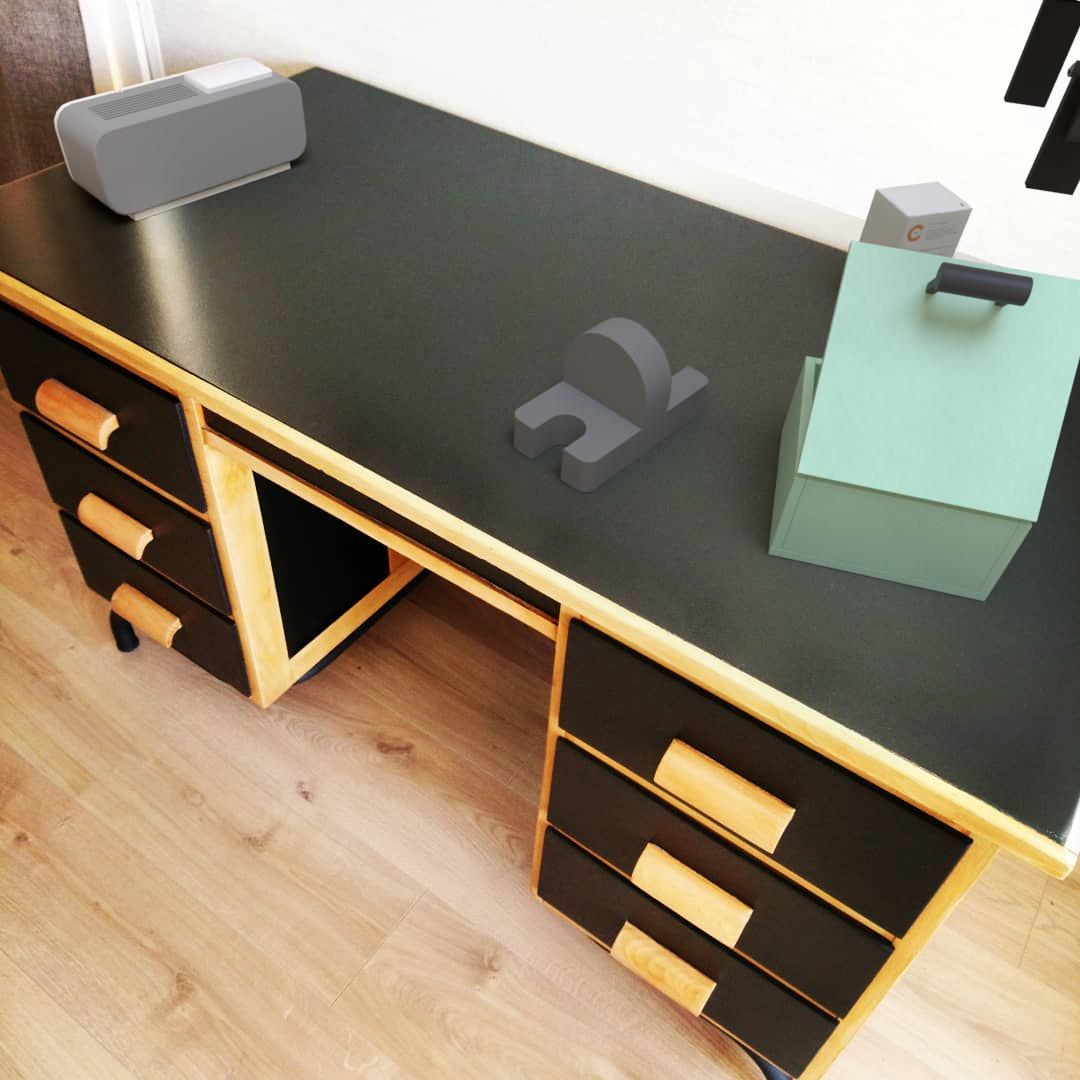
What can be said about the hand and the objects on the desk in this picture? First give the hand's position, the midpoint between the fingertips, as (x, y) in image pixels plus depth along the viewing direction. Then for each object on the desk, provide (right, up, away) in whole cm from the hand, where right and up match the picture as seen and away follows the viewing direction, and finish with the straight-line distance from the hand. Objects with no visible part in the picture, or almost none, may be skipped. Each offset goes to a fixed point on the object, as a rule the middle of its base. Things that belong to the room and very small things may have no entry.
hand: (1034, 143), depth 61 cm
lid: (-2, -14, +10) cm, 17 cm away
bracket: (-26, -15, +28) cm, 41 cm away
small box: (+7, +1, +46) cm, 47 cm away
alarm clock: (-75, +19, +57) cm, 96 cm away
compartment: (-2, -23, +22) cm, 32 cm away
